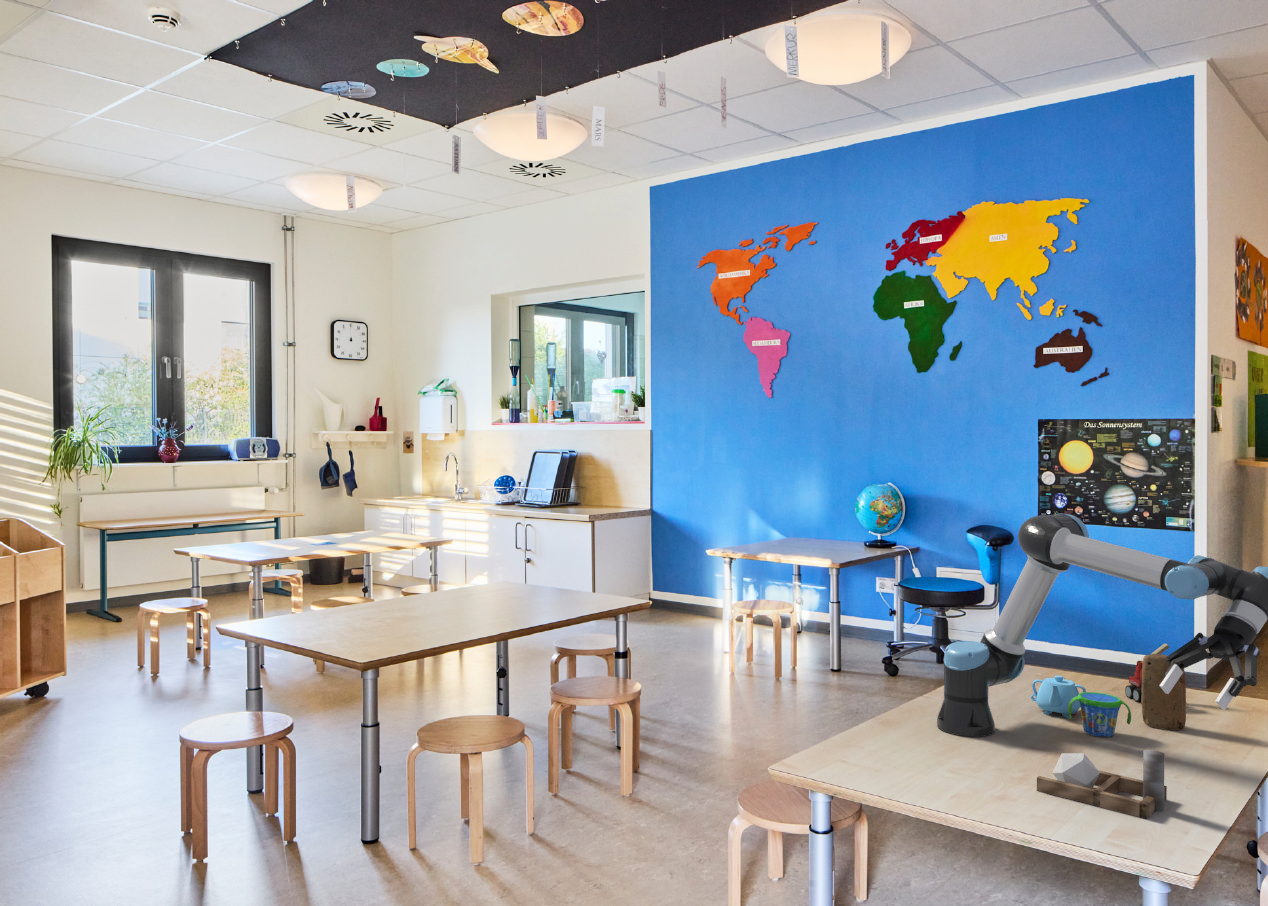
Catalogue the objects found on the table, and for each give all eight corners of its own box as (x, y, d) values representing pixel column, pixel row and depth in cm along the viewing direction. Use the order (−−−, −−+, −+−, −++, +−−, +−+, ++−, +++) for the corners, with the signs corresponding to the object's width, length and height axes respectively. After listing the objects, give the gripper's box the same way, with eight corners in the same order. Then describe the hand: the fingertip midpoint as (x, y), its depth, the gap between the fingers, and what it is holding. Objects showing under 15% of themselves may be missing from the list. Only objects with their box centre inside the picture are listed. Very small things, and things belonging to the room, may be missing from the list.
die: (1094, 804, 206) (1111, 763, 210) (1057, 781, 208) (1074, 741, 211) (1077, 803, 214) (1093, 765, 218) (1041, 782, 216) (1058, 743, 219)
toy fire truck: (1150, 709, 279) (1151, 651, 279) (1123, 695, 295) (1124, 640, 295) (1188, 710, 279) (1189, 651, 279) (1159, 696, 295) (1159, 640, 295)
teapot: (1066, 708, 282) (1065, 671, 282) (1095, 719, 268) (1094, 680, 268) (1027, 710, 280) (1026, 672, 280) (1055, 721, 266) (1054, 682, 266)
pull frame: (1036, 790, 212) (1037, 738, 211) (1060, 774, 222) (1060, 724, 222) (1153, 820, 195) (1154, 763, 195) (1172, 801, 206) (1173, 747, 206)
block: (1139, 725, 263) (1139, 655, 263) (1145, 720, 268) (1146, 650, 268) (1182, 733, 256) (1183, 661, 256) (1188, 727, 261) (1189, 656, 261)
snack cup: (1128, 731, 257) (1128, 695, 257) (1133, 743, 247) (1134, 704, 247) (1066, 725, 263) (1066, 689, 263) (1069, 735, 253) (1069, 698, 253)
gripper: (1304, 647, 200) (1254, 724, 195) (1197, 626, 223) (1150, 694, 218) (1287, 624, 198) (1236, 701, 193) (1181, 605, 221) (1133, 673, 216)
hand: (1190, 697), depth 205 cm, fingers open, 13 cm apart
